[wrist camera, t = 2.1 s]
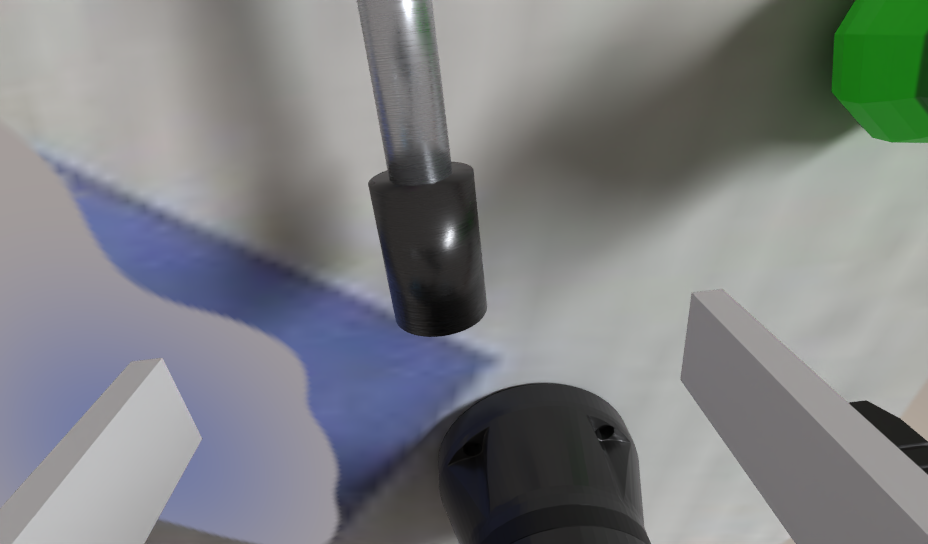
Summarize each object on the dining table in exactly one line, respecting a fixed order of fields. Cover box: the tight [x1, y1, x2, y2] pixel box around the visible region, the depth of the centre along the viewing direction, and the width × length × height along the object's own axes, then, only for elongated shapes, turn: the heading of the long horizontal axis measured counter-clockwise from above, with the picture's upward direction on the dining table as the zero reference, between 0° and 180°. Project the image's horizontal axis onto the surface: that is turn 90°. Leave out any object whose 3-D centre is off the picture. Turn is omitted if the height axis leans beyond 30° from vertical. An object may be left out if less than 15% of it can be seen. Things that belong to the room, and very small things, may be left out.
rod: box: [357, 0, 487, 337], centre depth 19 cm, size 22×13×11 cm, turn 6°
